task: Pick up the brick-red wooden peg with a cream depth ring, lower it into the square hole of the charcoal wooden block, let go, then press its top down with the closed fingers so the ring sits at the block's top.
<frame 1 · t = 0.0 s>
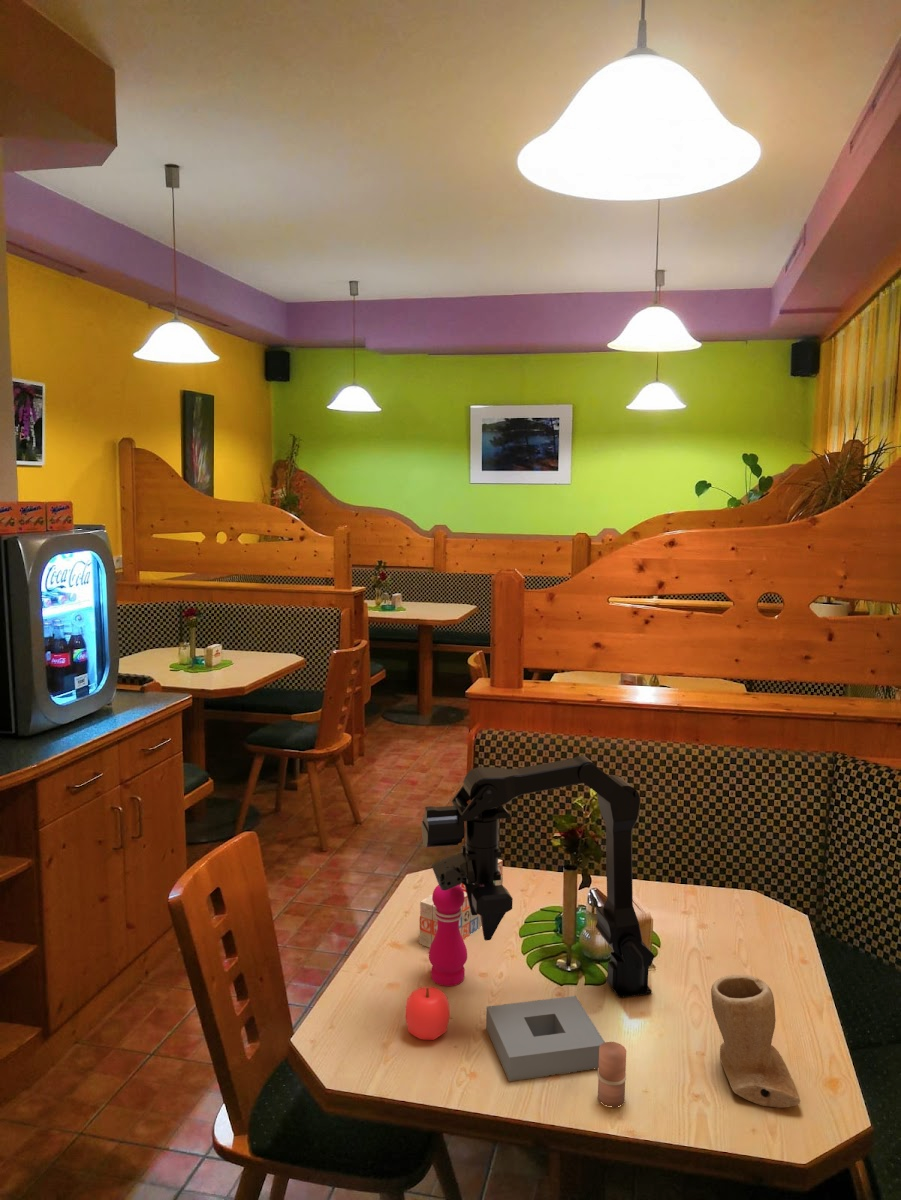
hand: (480, 927, 158), 15 cm above the table, tool pointing down, fingers open, 9 cm apart
pepper mill: (447, 978, 169), on the table
apple: (427, 1033, 152), on the table
stack of blocks: (462, 929, 188), on the table
hole block: (543, 1047, 148), on the table
peg: (611, 1099, 136), on the table
clay pipe bowl: (748, 1080, 141), on the table
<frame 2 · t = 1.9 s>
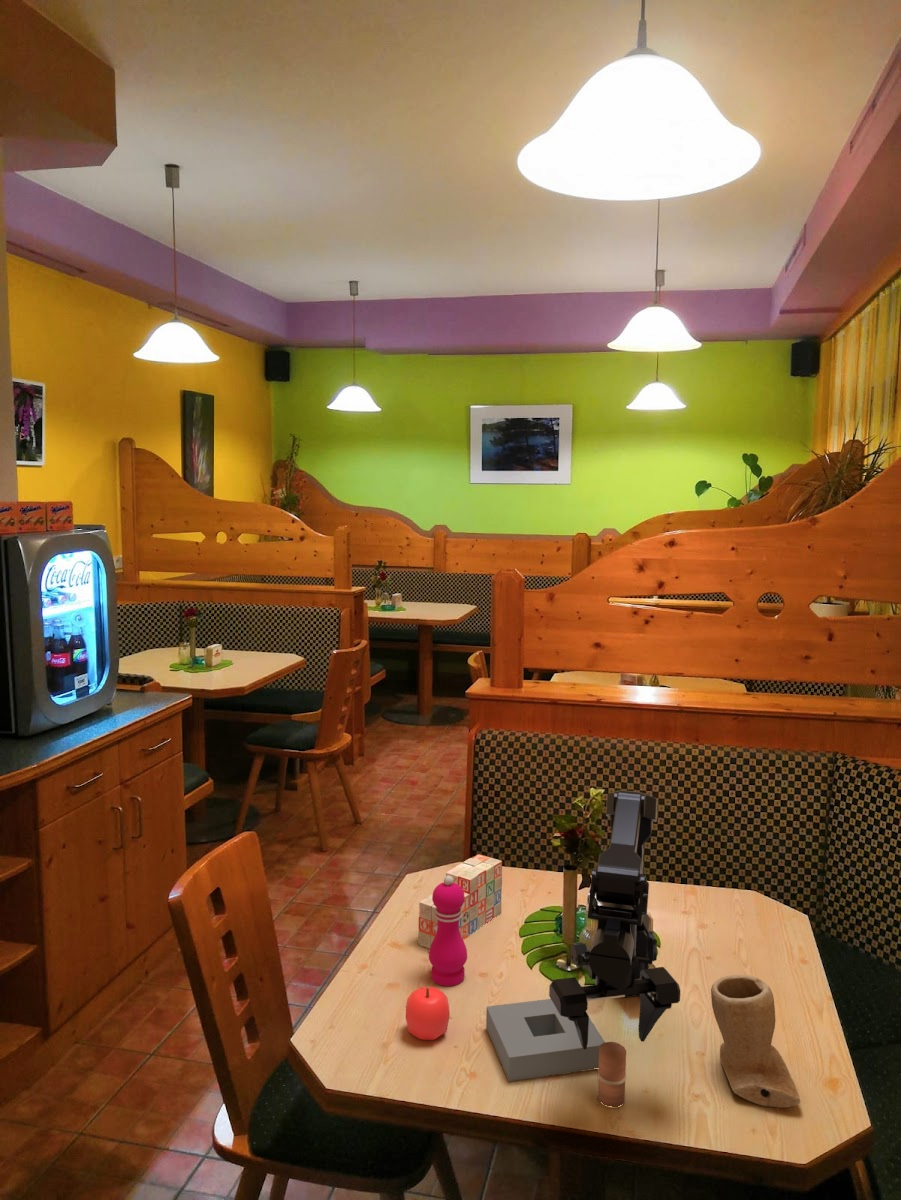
hand: (612, 1043, 135), 9 cm above the table, tool pointing down, fingers open, 9 cm apart
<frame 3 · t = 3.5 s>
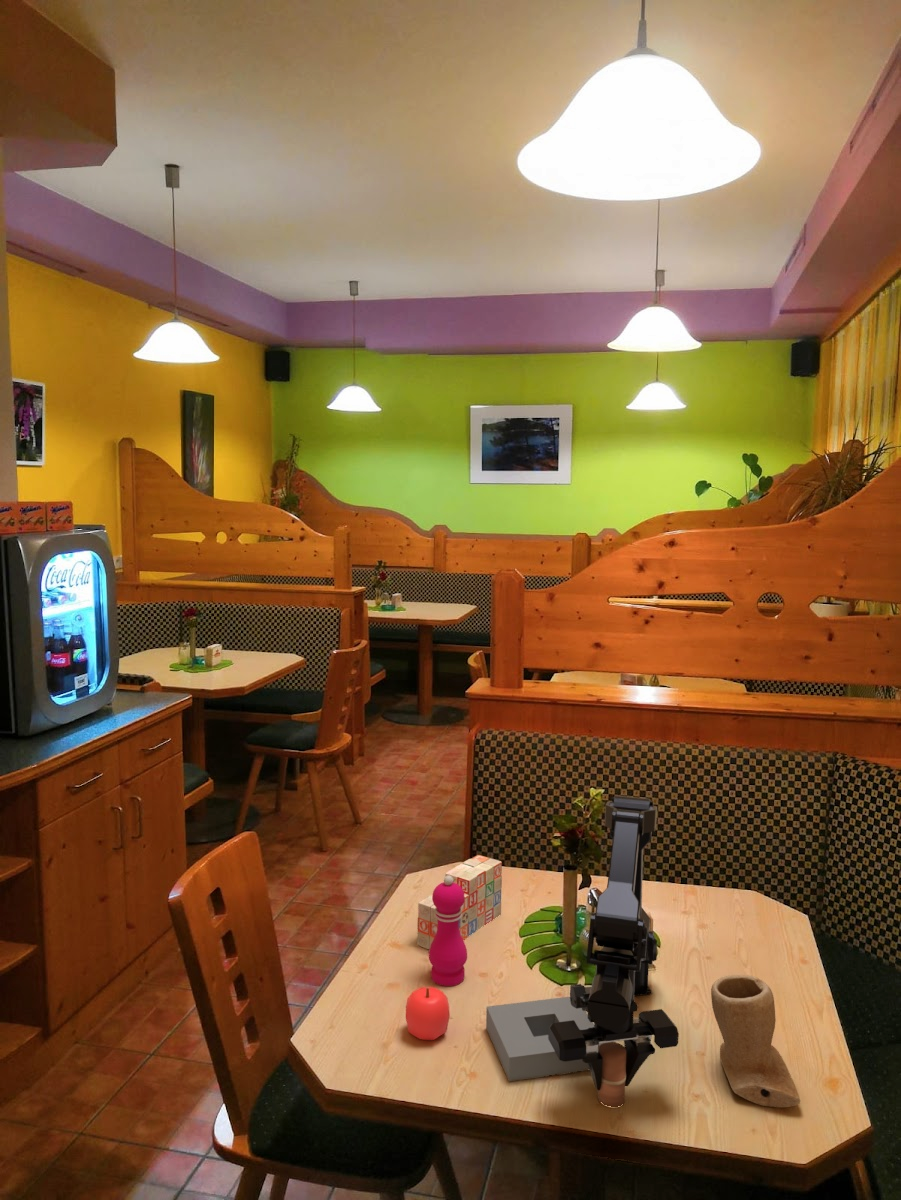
hand: (611, 1086, 136), 2 cm above the table, tool pointing down, fingers closed on peg, 4 cm apart
peg: (611, 1099, 136), on the table, touching gripper
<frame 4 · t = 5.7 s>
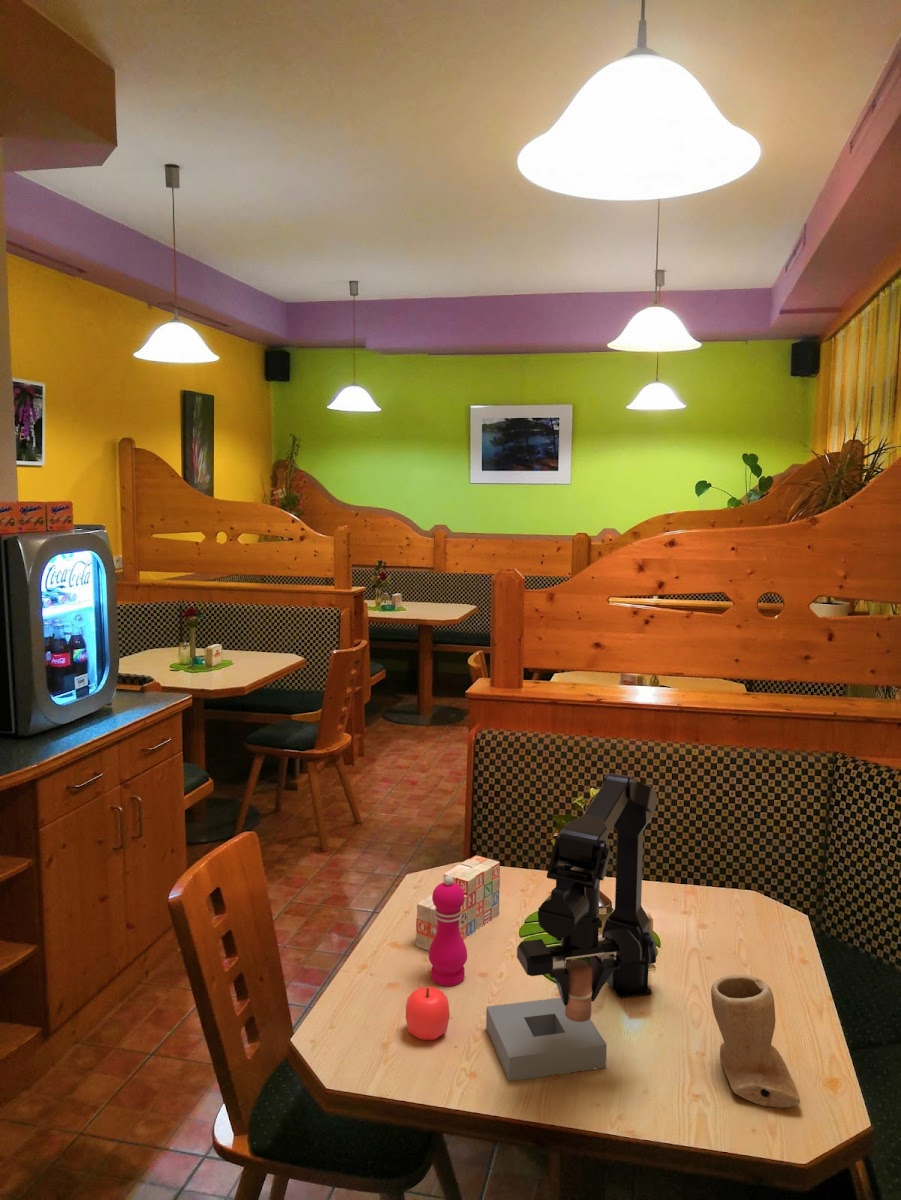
hand: (578, 1002, 141), 12 cm above the table, tool pointing down, fingers closed on peg, 4 cm apart
peg: (578, 1014, 141), point 10 cm above the table, touching gripper
when the fingers open (5 cm above the table, at t = 8.2 s): peg drops 3 cm, resting in hole block.
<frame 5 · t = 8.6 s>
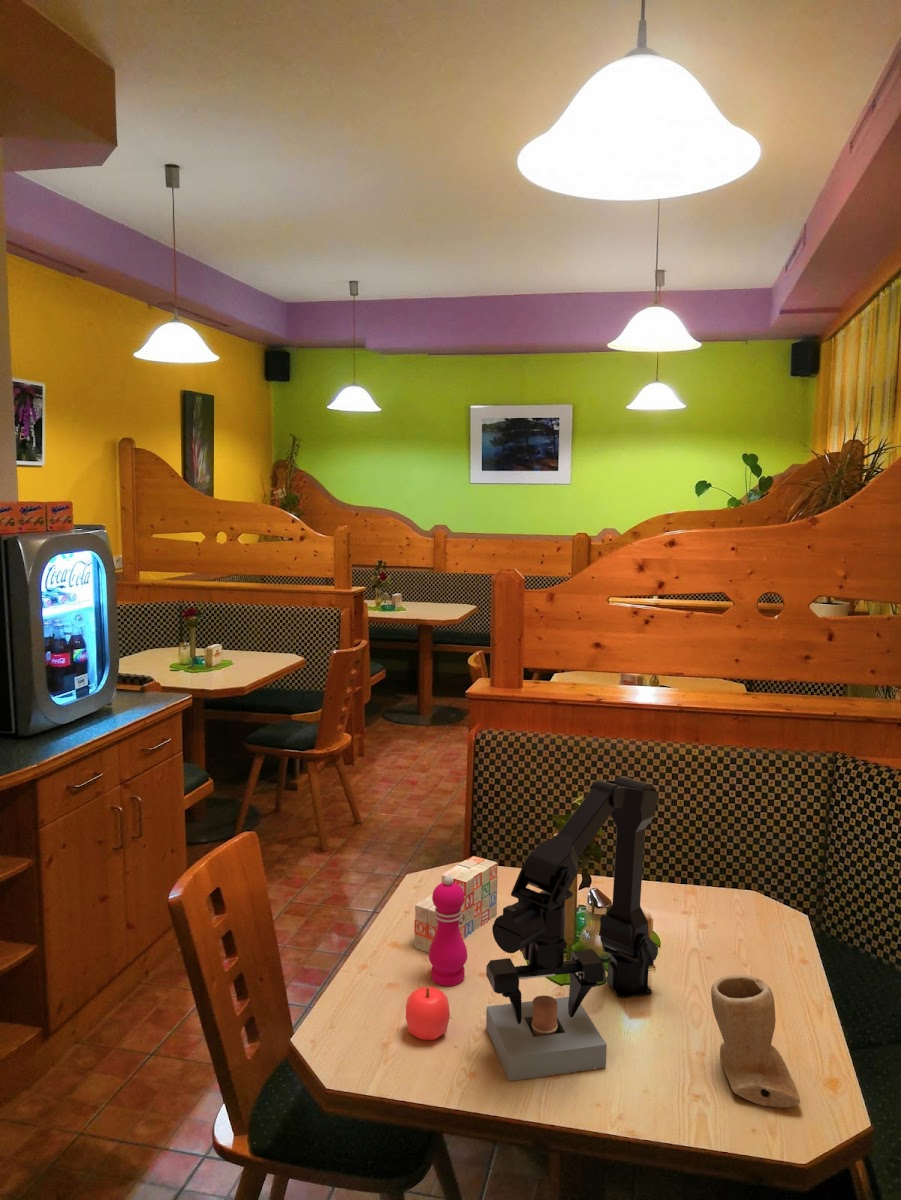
hand: (544, 1019, 148), 5 cm above the table, tool pointing down, fingers open, 9 cm apart
peg: (544, 1047, 148), resting in hole block
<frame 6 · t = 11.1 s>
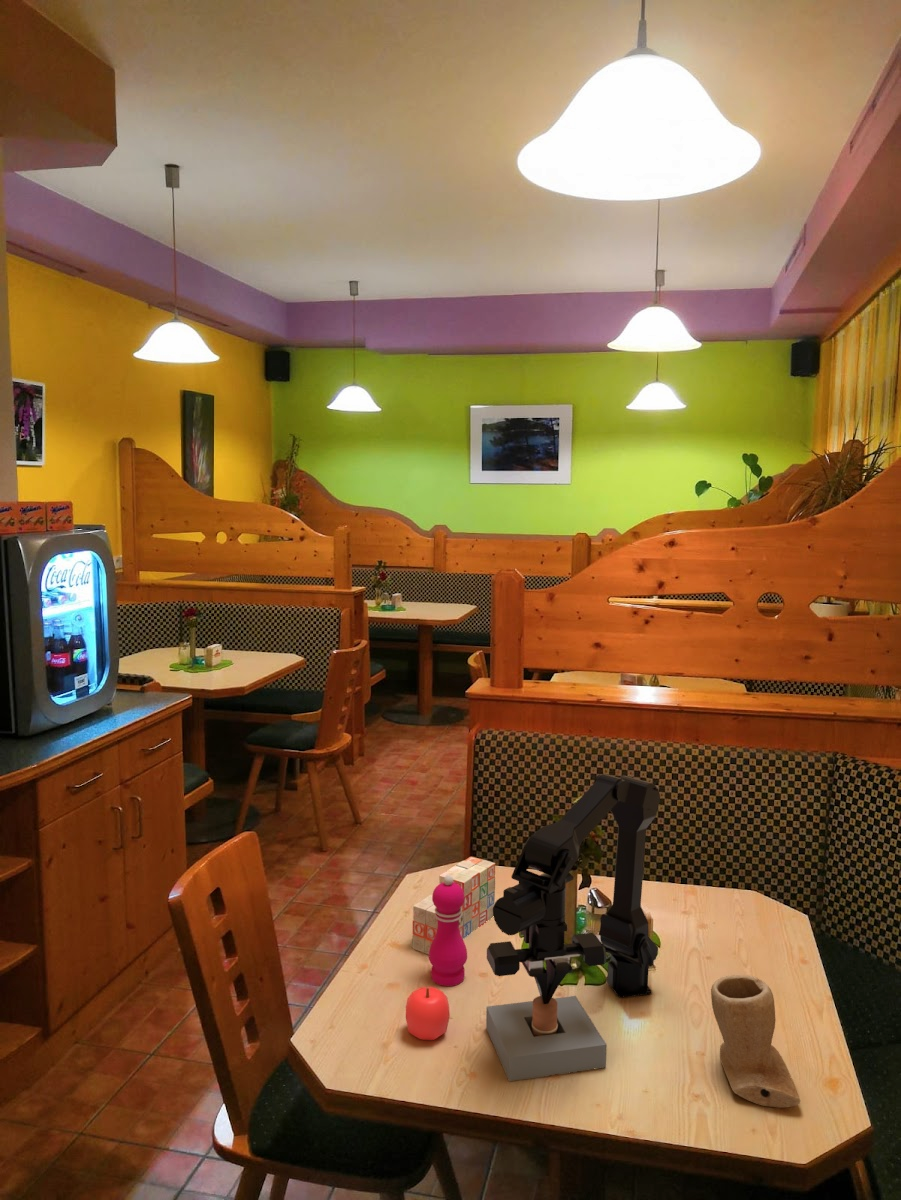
hand: (545, 1002, 147), 8 cm above the table, tool pointing down, fingers closed, pressing on peg
peg: (544, 1047, 148), resting in hole block, touching gripper
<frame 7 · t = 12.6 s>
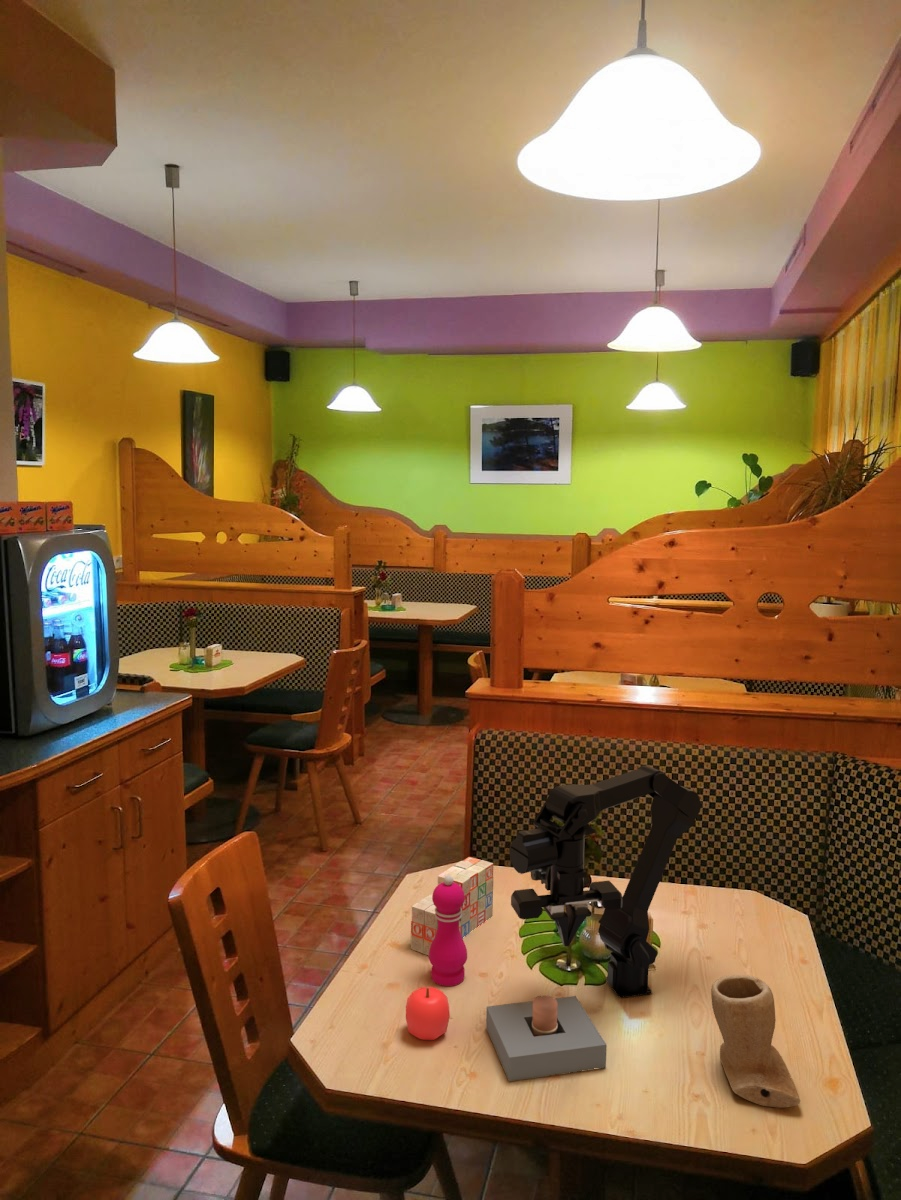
hand: (565, 945, 158), 12 cm above the table, tool pointing down, fingers closed
peg: (544, 1047, 148), resting in hole block
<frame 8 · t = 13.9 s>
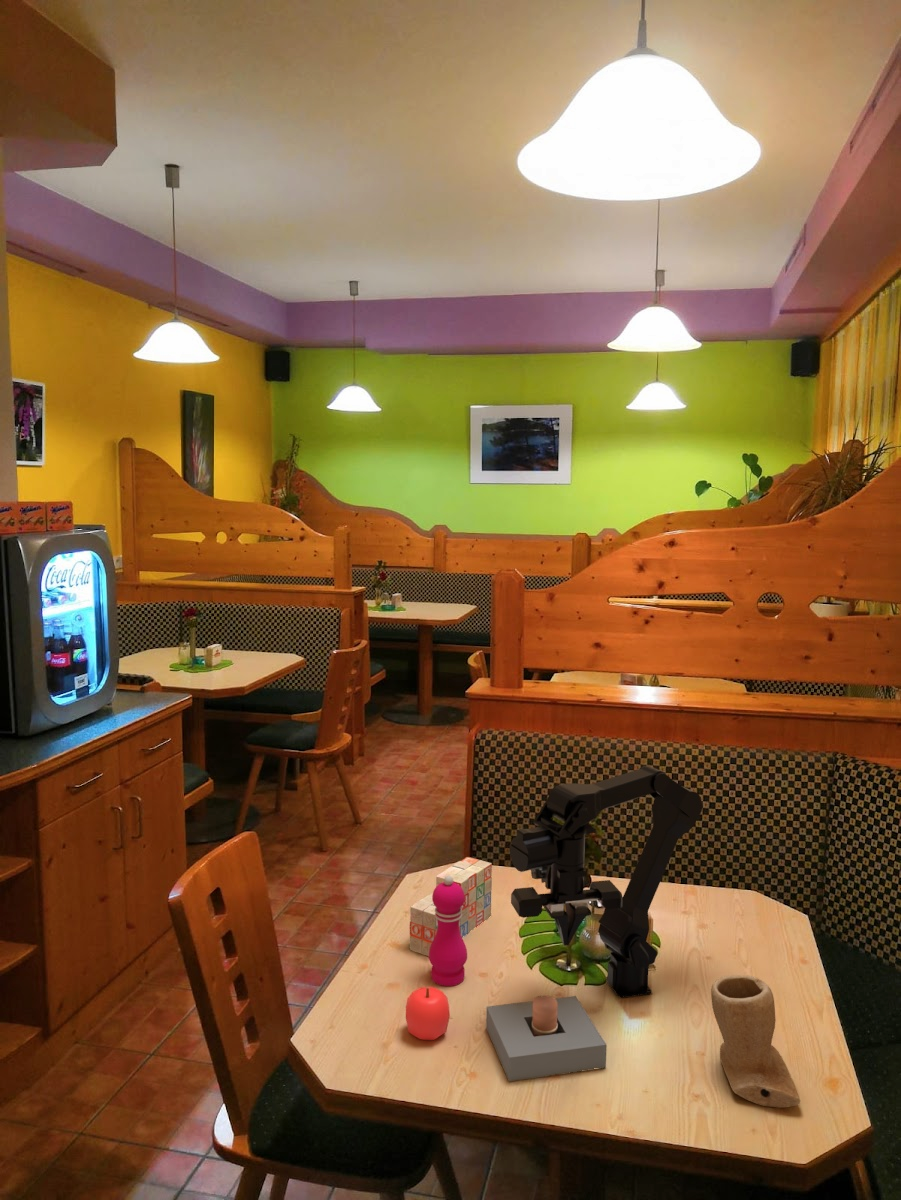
hand: (565, 944, 158), 12 cm above the table, tool pointing down, fingers closed
at the end: peg 0.0 cm off-centre on the hole block, point 0.0 cm above the hole block's base; peg tilted 0°; the gripper is holding nothing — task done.
